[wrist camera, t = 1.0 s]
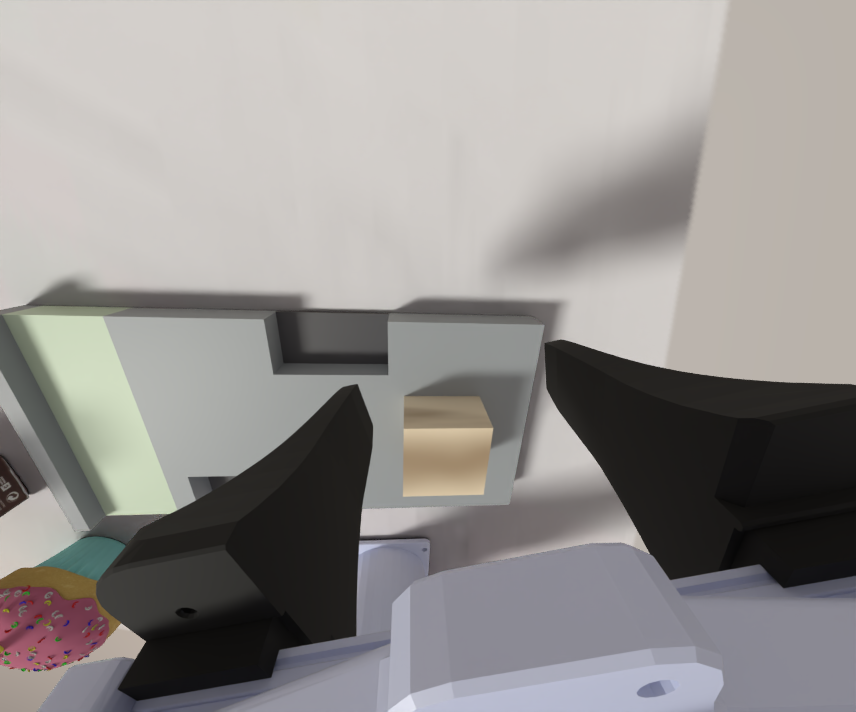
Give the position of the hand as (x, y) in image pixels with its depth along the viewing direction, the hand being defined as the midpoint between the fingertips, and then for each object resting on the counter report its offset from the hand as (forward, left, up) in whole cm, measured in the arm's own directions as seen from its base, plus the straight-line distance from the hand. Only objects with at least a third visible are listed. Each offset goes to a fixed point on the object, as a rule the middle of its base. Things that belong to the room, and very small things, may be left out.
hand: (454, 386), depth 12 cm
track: (-7, +8, -9) cm, 14 cm away
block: (-7, -1, -7) cm, 10 cm away
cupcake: (-22, +27, -9) cm, 36 cm away
